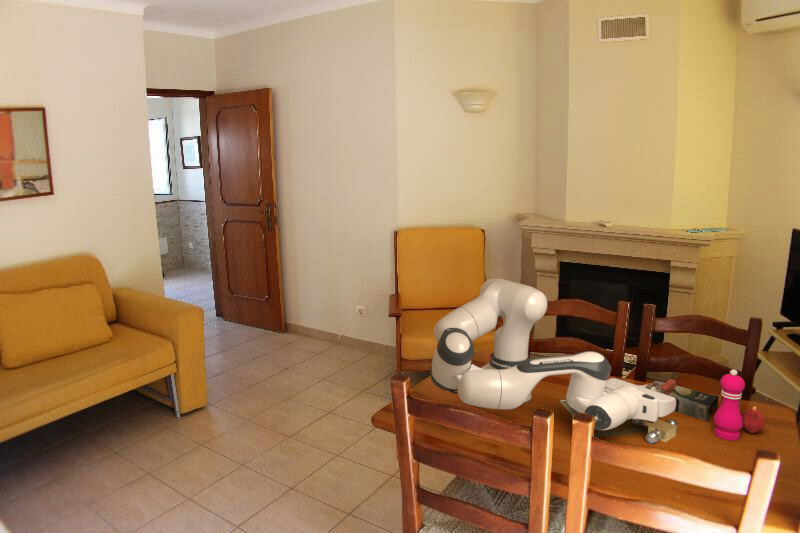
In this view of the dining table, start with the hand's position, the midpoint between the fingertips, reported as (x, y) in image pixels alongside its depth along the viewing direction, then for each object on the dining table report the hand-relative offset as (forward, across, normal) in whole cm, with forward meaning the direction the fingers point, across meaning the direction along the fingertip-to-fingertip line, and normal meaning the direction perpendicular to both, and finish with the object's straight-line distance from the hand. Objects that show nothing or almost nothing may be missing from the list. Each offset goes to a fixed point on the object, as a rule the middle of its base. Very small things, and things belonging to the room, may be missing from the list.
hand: (651, 388), depth 172 cm
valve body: (-7, +6, -10) cm, 13 cm away
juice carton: (+15, +2, -11) cm, 19 cm away
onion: (+14, +24, -10) cm, 29 cm away
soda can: (+19, +16, -10) cm, 27 cm away
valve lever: (-8, 0, -9) cm, 12 cm away
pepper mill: (+7, +20, -10) cm, 23 cm away
